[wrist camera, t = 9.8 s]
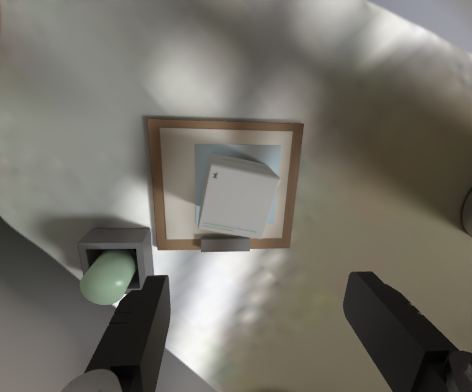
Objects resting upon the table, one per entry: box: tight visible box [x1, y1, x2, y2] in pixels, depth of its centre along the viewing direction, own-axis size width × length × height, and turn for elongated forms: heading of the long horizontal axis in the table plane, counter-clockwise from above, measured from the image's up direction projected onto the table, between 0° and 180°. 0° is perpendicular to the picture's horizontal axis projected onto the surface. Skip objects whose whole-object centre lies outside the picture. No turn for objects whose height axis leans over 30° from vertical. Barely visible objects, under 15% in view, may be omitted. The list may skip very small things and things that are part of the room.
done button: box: [80, 249, 138, 305], centre depth 23 cm, size 4×4×4 cm
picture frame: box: [148, 119, 304, 252], centre depth 24 cm, size 14×13×1 cm
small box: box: [198, 153, 281, 239], centre depth 22 cm, size 6×6×5 cm
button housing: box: [77, 228, 154, 294], centre depth 25 cm, size 6×6×3 cm
